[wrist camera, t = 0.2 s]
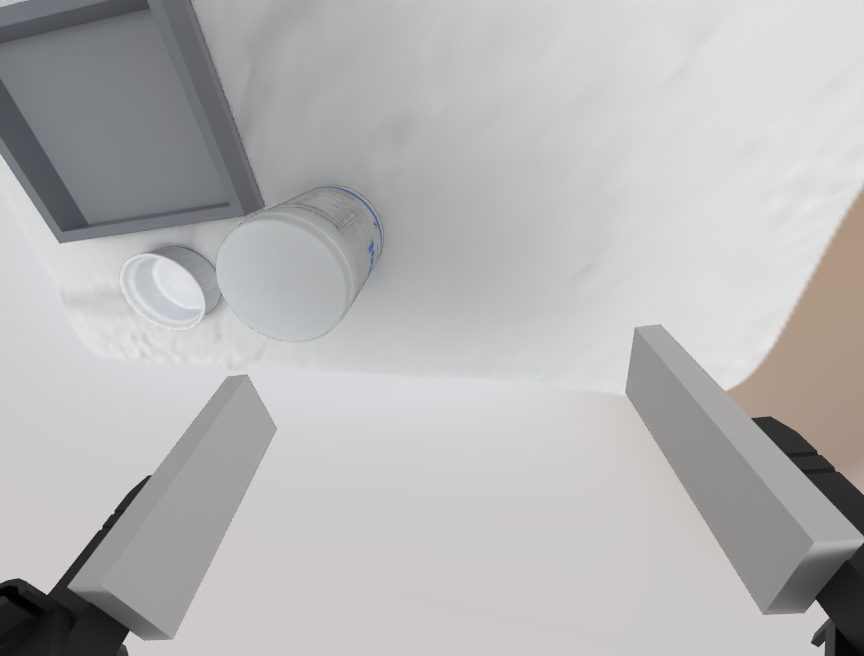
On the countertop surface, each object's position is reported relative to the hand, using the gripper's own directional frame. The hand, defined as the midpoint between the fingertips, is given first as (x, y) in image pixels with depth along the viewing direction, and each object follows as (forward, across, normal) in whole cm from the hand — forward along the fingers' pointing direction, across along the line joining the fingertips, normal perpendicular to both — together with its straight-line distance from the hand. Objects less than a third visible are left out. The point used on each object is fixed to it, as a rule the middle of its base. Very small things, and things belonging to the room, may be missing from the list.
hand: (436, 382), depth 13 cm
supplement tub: (+28, -11, -2) cm, 30 cm away
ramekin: (+29, -30, -5) cm, 42 cm away
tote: (+29, -28, +10) cm, 41 cm away
